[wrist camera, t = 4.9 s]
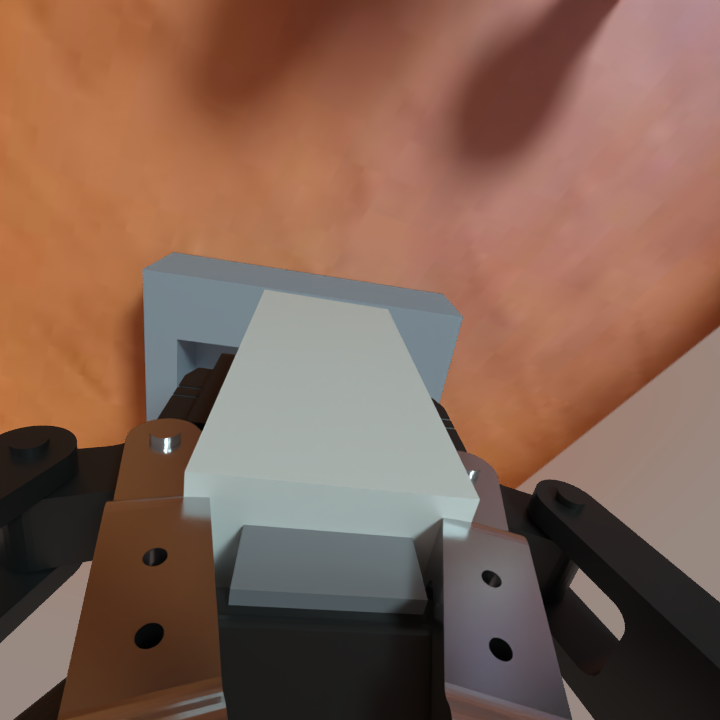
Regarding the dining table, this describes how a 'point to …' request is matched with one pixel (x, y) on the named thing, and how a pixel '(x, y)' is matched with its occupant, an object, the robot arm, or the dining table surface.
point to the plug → (326, 463)
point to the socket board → (238, 304)
